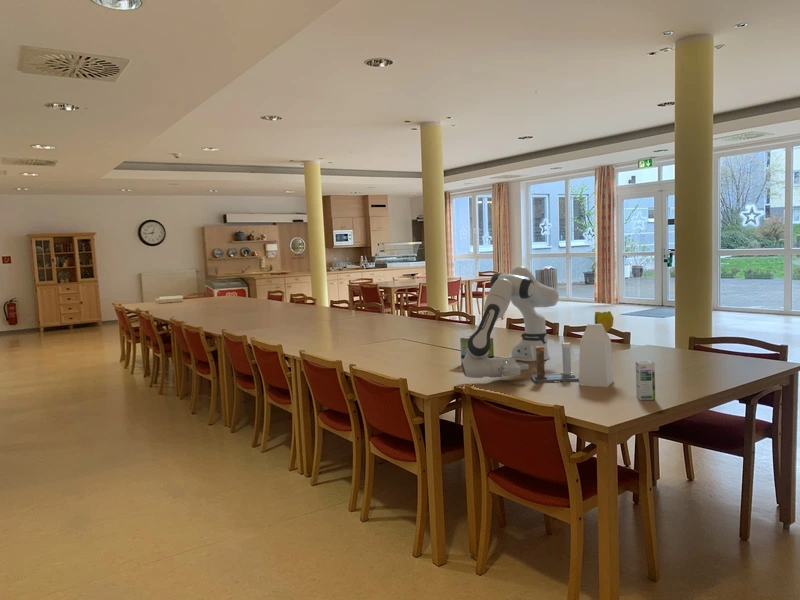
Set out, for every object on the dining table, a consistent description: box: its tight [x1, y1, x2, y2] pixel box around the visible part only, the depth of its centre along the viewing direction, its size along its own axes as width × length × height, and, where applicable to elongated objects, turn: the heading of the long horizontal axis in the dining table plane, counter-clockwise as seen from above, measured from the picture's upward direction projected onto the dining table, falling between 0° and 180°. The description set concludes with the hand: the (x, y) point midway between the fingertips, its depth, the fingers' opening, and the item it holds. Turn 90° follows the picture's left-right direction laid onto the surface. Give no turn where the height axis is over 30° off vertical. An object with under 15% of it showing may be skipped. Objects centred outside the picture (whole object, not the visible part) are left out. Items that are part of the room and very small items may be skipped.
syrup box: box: [635, 360, 656, 401], centre depth 227 cm, size 6×6×14 cm
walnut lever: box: [535, 346, 547, 379], centre depth 265 cm, size 5×4×14 cm
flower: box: [594, 310, 614, 333], centre depth 267 cm, size 9×8×30 cm
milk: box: [578, 323, 615, 388], centre depth 255 cm, size 12×12×26 cm
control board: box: [529, 372, 579, 384], centre depth 268 cm, size 20×13×2 cm, turn 86°
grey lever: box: [560, 342, 574, 375], centre depth 270 cm, size 5×4×14 cm
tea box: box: [459, 335, 495, 363], centre depth 308 cm, size 15×10×15 cm, turn 42°
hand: (528, 366), depth 266 cm, fingers closed
